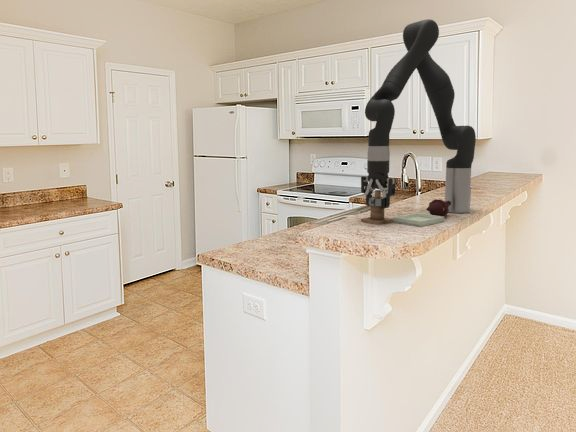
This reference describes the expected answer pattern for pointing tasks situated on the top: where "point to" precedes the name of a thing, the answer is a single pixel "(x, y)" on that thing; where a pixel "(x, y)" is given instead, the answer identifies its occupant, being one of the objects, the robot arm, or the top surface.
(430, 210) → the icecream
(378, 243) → the top surface
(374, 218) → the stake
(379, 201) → the ring
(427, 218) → the tray
